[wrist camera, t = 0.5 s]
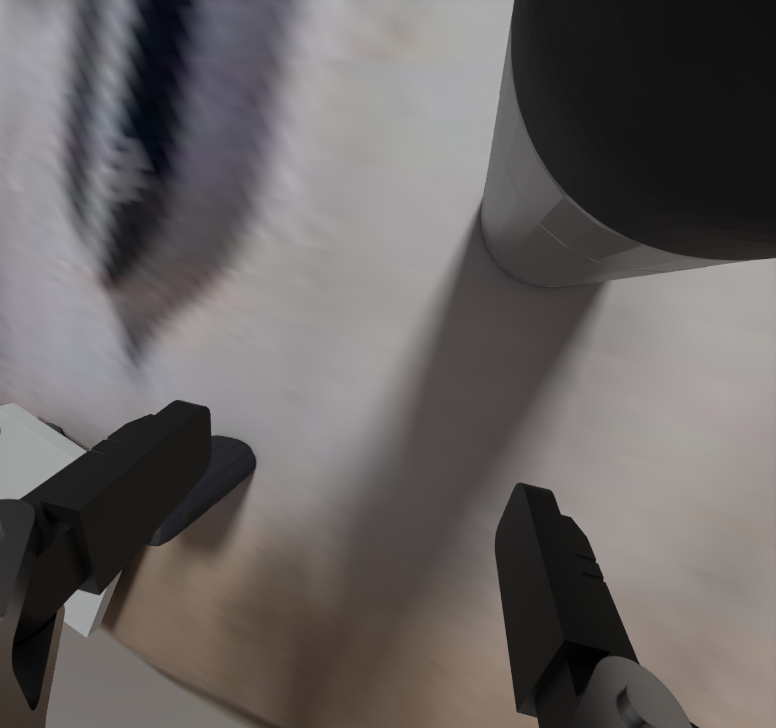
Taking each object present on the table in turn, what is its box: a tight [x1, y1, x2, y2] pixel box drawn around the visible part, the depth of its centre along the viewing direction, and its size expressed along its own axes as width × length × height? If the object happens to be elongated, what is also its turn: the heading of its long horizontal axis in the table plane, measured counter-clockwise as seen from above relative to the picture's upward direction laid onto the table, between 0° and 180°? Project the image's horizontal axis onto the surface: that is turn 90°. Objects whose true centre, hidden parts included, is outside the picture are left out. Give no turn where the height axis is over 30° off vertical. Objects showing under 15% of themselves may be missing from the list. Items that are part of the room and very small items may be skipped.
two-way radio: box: [145, 435, 255, 546], centre depth 24 cm, size 6×4×15 cm
